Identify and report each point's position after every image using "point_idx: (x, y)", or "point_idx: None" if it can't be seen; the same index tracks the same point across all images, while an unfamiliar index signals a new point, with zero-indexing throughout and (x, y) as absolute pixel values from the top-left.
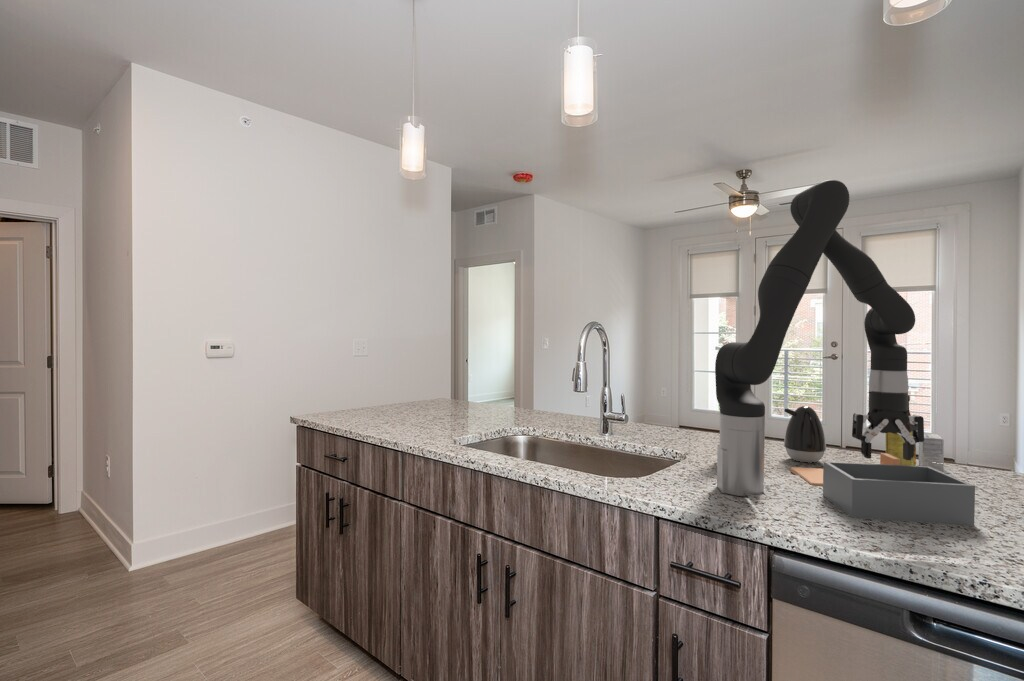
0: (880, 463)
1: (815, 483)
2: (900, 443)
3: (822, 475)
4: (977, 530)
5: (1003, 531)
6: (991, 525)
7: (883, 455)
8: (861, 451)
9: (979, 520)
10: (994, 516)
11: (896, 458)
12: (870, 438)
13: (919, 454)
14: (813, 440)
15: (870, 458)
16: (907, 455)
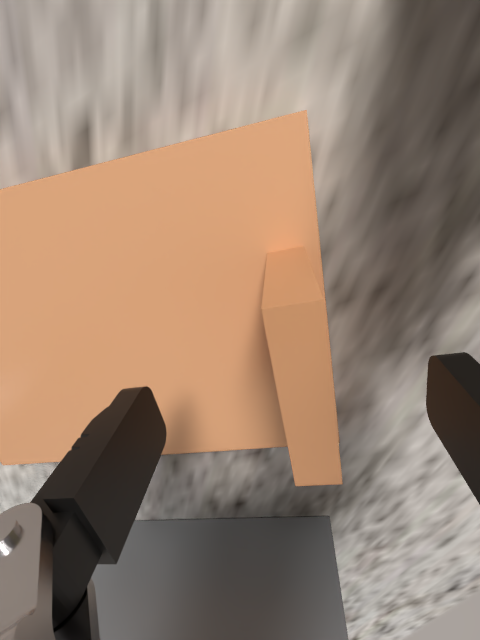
0: (265, 278)
1: (15, 463)
2: None
3: (8, 355)
4: (349, 621)
5: (405, 621)
6: (405, 601)
7: (271, 358)
8: (88, 432)
9: (399, 583)
10: (470, 558)
11: (324, 470)
12: (78, 635)
13: None
14: None
15: (165, 431)
16: (447, 438)
